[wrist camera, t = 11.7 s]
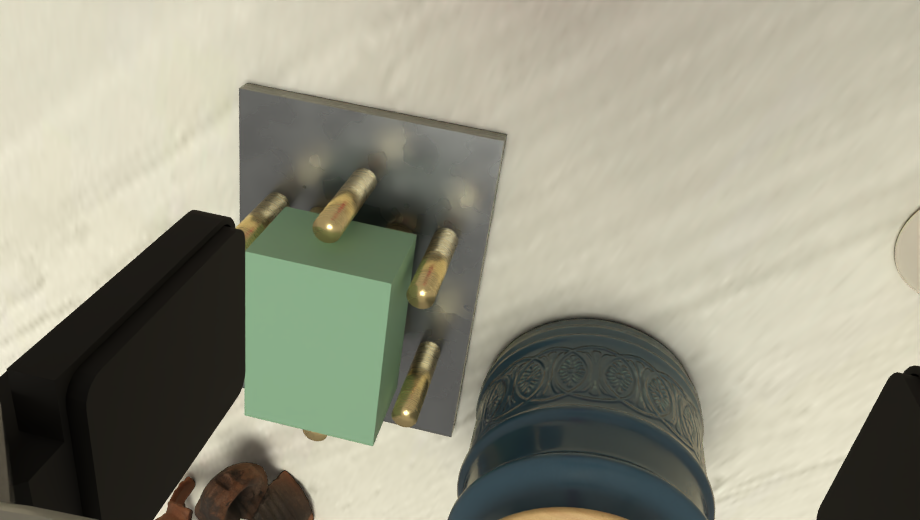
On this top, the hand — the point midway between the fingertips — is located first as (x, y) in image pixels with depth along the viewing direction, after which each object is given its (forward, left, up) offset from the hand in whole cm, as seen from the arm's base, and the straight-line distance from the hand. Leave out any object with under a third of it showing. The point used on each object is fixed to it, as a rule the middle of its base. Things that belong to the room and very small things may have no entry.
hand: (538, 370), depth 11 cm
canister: (-5, +23, -28) cm, 37 cm away
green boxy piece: (+10, +17, -25) cm, 32 cm away
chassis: (+10, +17, -28) cm, 34 cm away
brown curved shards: (+17, +37, -29) cm, 50 cm away
